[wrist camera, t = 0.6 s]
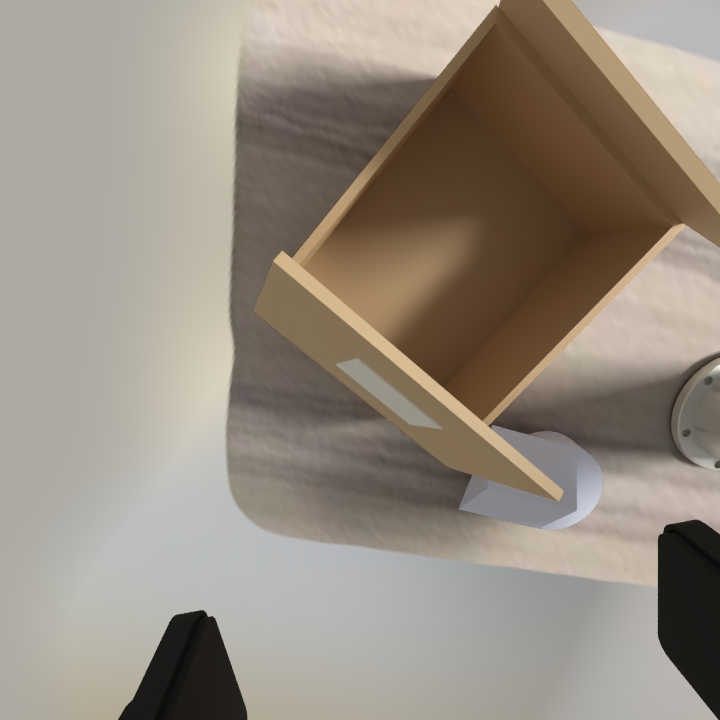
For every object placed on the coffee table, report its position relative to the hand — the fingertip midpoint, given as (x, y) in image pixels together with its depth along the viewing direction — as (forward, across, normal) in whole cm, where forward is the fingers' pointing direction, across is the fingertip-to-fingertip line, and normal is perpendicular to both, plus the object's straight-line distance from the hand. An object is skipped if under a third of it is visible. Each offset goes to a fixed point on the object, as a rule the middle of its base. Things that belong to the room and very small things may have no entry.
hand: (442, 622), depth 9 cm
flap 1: (+15, -1, 0) cm, 15 cm away
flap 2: (+16, -14, -11) cm, 24 cm away
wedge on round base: (+31, -13, +16) cm, 37 cm away
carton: (+30, -7, -6) cm, 32 cm away
